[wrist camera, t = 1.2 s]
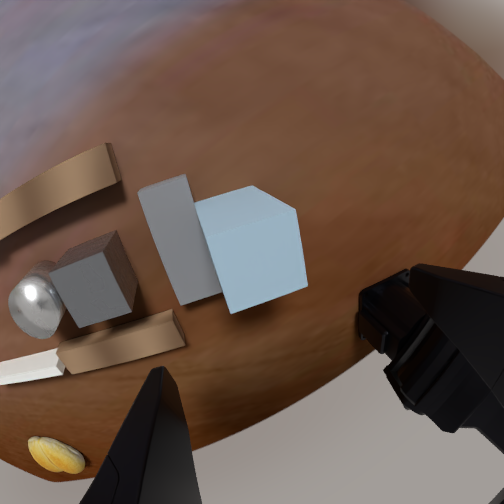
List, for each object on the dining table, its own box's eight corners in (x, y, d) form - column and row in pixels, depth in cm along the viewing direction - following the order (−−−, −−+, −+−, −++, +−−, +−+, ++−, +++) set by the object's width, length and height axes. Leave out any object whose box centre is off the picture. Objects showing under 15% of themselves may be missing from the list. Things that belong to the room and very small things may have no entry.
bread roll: (94, 462, 26) (93, 483, 22) (50, 457, 24) (48, 476, 20) (66, 435, 23) (62, 459, 19) (21, 430, 21) (16, 451, 17)
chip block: (116, 229, 17) (102, 251, 13) (138, 280, 18) (131, 311, 15) (69, 248, 16) (48, 273, 12) (92, 296, 18) (79, 328, 14)
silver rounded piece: (58, 253, 16) (36, 278, 12) (82, 300, 17) (67, 332, 14) (22, 269, 15) (-1, 295, 12) (46, 312, 17) (29, 343, 13)
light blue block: (245, 156, 17) (286, 164, 11) (269, 263, 20) (311, 316, 14) (140, 188, 16) (119, 216, 10) (179, 293, 19) (186, 360, 13)
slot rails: (110, 143, 14) (105, 142, 13) (183, 333, 21) (185, 345, 19) (-8, 206, 13) (-19, 212, 11) (75, 362, 19) (71, 374, 18)
